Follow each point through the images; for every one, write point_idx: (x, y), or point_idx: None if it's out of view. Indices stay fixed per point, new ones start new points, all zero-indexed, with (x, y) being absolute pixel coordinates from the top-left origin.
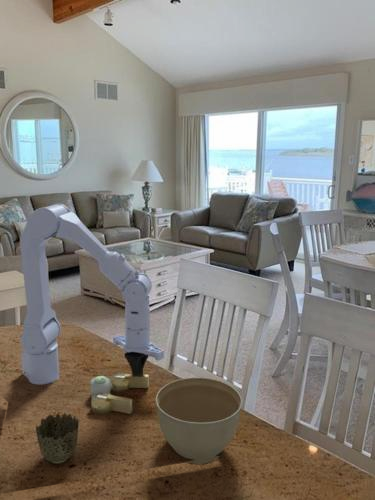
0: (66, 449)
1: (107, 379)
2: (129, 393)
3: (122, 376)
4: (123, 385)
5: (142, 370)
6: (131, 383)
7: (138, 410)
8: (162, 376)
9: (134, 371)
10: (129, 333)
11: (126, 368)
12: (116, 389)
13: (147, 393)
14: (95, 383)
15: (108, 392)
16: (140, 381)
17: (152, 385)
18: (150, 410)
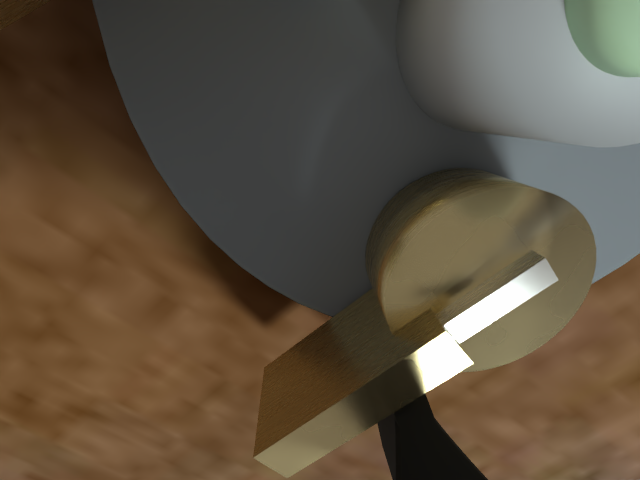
0: None
1: (582, 102)
2: None
3: (480, 320)
4: (385, 248)
5: (392, 477)
6: (367, 319)
7: (121, 164)
8: (358, 466)
9: (404, 442)
10: None
11: (576, 404)
12: (422, 185)
13: (277, 335)
14: None
15: (419, 46)
16: (308, 378)
17: None
18: (71, 226)
